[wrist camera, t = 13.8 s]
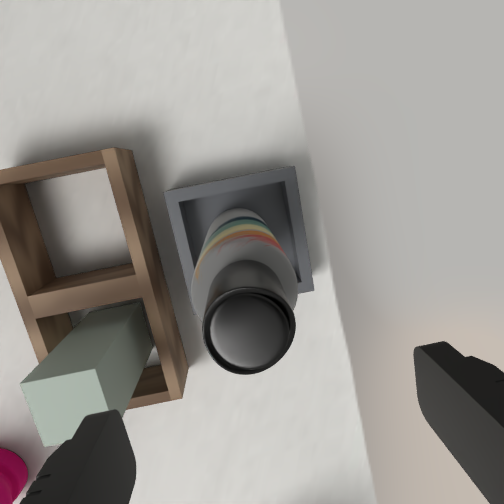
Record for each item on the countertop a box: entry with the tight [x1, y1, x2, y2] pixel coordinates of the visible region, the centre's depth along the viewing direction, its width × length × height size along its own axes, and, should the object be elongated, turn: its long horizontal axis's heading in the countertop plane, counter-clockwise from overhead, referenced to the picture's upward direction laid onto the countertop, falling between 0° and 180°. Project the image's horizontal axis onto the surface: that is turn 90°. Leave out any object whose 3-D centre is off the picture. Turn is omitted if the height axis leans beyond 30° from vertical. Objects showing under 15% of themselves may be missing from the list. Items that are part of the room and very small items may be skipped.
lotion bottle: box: [191, 208, 298, 375], centre depth 24 cm, size 6×6×20 cm
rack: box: [0, 148, 189, 410], centre depth 32 cm, size 22×11×5 cm, turn 11°
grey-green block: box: [20, 302, 153, 447], centre depth 30 cm, size 5×5×12 cm
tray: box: [163, 166, 314, 315], centre depth 33 cm, size 11×11×4 cm
